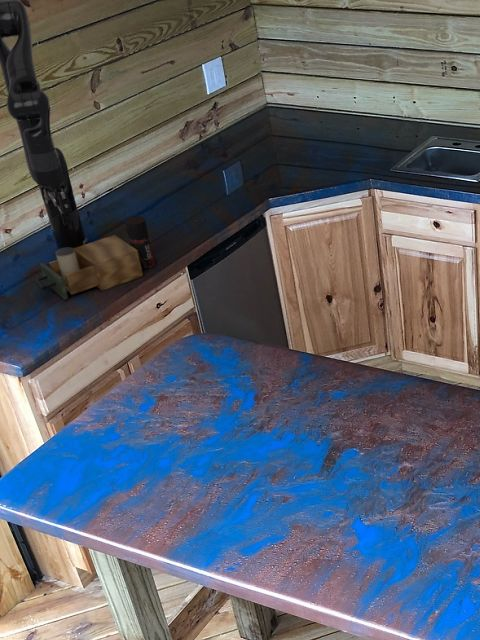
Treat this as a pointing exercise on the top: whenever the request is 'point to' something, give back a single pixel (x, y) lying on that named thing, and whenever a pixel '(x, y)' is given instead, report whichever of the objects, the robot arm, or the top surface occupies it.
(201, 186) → the top surface
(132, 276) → the cabinet
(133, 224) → the deodorant
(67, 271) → the tin can
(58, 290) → the drawer
